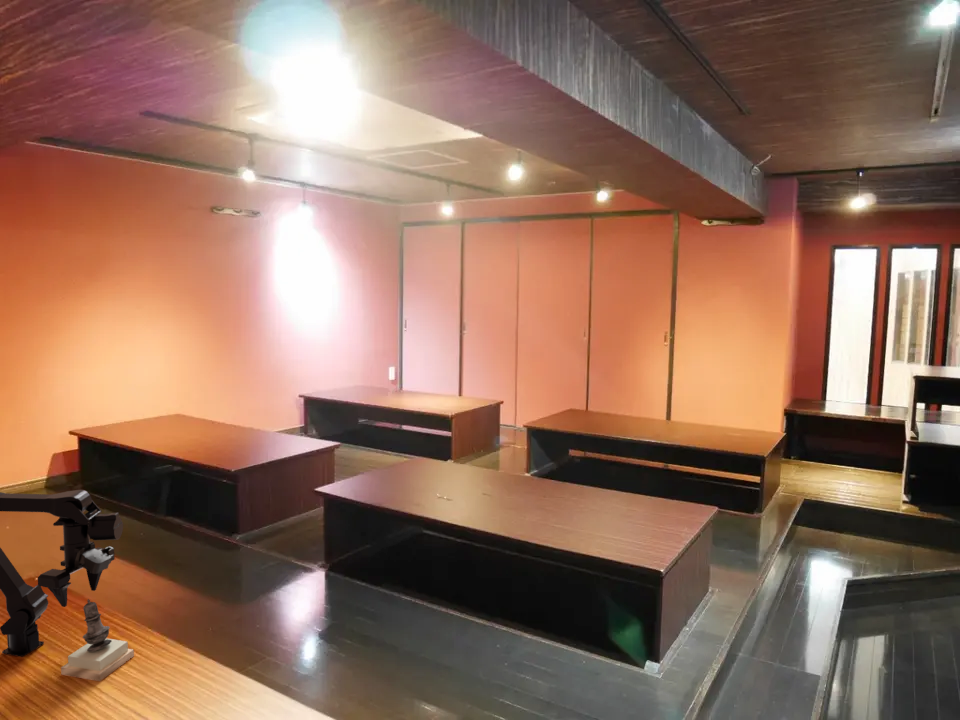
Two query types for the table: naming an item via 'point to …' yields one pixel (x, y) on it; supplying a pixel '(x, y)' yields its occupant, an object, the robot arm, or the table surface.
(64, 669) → the birch slab
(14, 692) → the table surface
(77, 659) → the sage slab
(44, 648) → the table surface
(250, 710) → the table surface
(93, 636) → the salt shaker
